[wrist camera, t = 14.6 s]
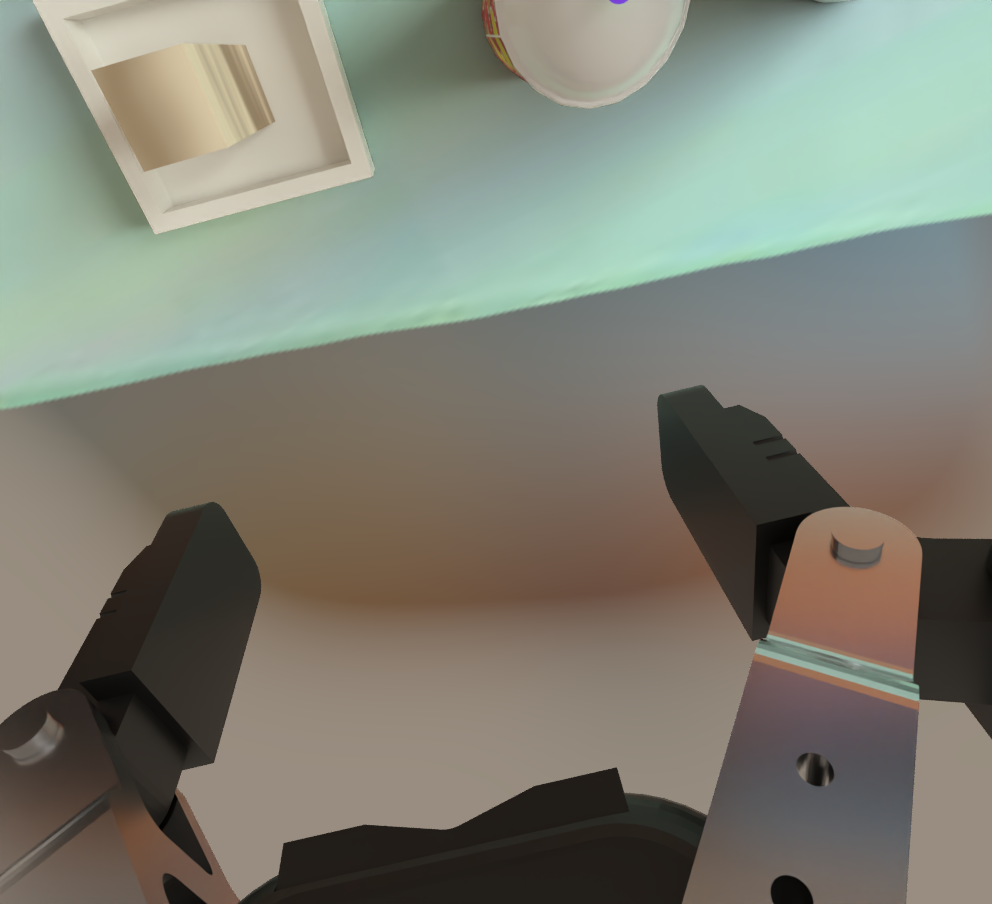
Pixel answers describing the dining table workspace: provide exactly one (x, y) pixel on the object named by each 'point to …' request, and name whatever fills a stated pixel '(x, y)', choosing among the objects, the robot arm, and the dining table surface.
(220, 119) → the birch peg
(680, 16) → the smoothie
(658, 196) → the dining table surface
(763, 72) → the dining table surface
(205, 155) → the plastic tray
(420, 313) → the dining table surface
